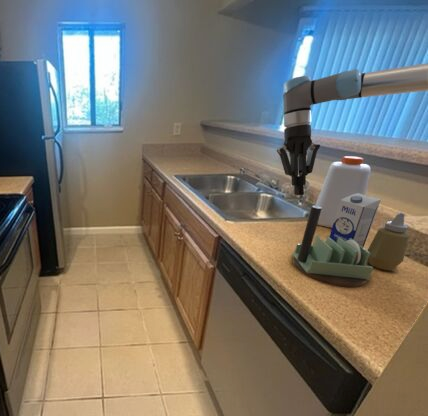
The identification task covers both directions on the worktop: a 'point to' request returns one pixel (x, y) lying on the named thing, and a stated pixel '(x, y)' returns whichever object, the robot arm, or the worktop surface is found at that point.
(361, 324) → the worktop surface
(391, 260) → the squeeze bottle
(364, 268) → the dish rack
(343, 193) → the plastic bottle
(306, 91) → the robot arm
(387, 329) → the worktop surface
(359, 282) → the turntable
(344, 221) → the milk carton
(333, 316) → the worktop surface
